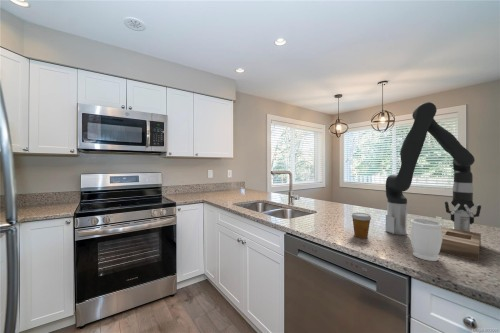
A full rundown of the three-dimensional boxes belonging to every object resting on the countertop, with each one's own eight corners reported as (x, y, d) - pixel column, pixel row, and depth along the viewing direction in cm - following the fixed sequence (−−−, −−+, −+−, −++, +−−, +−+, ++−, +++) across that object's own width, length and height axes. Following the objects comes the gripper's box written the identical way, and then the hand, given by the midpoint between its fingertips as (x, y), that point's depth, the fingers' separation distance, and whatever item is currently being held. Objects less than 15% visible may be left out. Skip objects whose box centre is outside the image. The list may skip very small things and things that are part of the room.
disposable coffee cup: (370, 235, 118) (370, 213, 117) (371, 240, 109) (372, 217, 109) (351, 232, 122) (351, 211, 121) (351, 237, 113) (351, 215, 113)
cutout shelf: (478, 260, 87) (479, 246, 87) (433, 250, 98) (434, 237, 98) (480, 245, 103) (480, 233, 103) (441, 238, 114) (442, 226, 113)
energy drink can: (464, 237, 115) (464, 209, 115) (472, 241, 109) (473, 212, 109) (450, 236, 116) (451, 209, 116) (458, 240, 111) (459, 211, 110)
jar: (403, 252, 95) (404, 218, 95) (425, 251, 96) (425, 218, 96) (425, 263, 85) (425, 225, 84) (449, 262, 85) (449, 225, 85)
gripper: (483, 191, 109) (482, 224, 110) (445, 189, 120) (444, 218, 121) (482, 193, 105) (481, 227, 105) (443, 190, 115) (442, 221, 116)
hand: (461, 222), depth 113 cm, fingers closed on energy drink can, 6 cm apart
